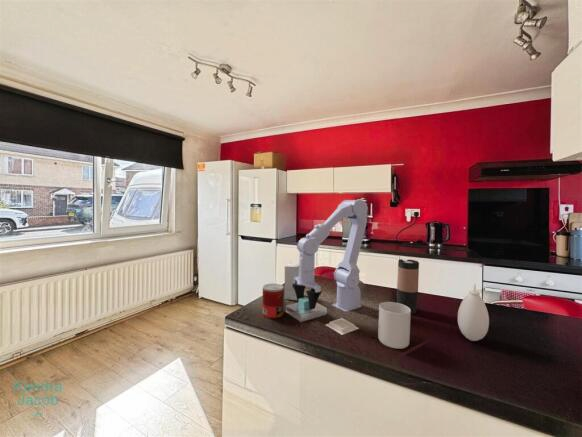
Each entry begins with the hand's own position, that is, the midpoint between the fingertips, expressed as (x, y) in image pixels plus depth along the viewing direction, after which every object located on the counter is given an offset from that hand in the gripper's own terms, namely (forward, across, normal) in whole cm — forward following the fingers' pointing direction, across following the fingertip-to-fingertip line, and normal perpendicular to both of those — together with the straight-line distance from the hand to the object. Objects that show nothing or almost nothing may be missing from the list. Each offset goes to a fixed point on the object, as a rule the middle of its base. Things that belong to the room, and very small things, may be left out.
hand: (306, 305), depth 96 cm
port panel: (+4, 0, 0) cm, 4 cm away
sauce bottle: (+4, +42, +34) cm, 54 cm away
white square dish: (+4, +15, +4) cm, 16 cm away
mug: (+4, +29, +12) cm, 32 cm away
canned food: (+4, -6, -11) cm, 13 cm away
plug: (+4, 0, 0) cm, 4 cm away
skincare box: (+4, -18, +6) cm, 19 cm away
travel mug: (+4, +18, +37) cm, 41 cm away
